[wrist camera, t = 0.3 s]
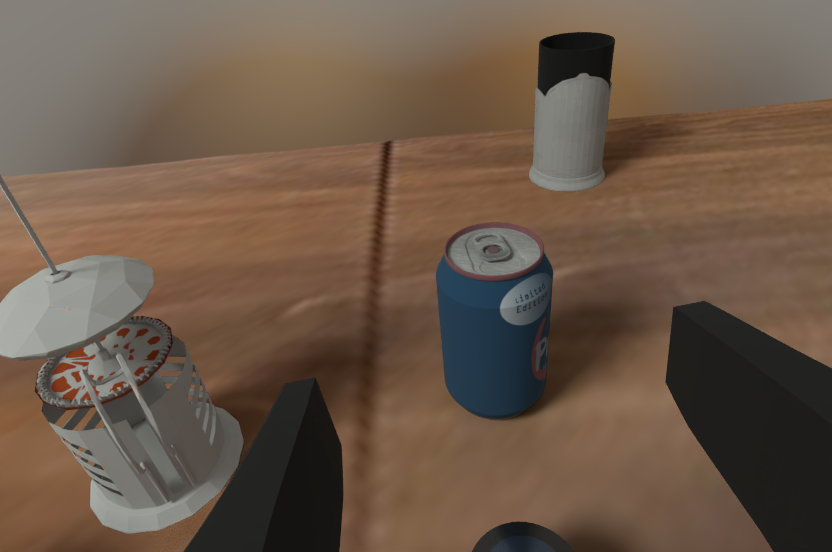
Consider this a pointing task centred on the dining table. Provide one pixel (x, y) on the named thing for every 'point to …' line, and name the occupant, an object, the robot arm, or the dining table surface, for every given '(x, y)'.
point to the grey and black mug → (571, 110)
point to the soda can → (495, 318)
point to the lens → (521, 539)
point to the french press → (119, 389)
